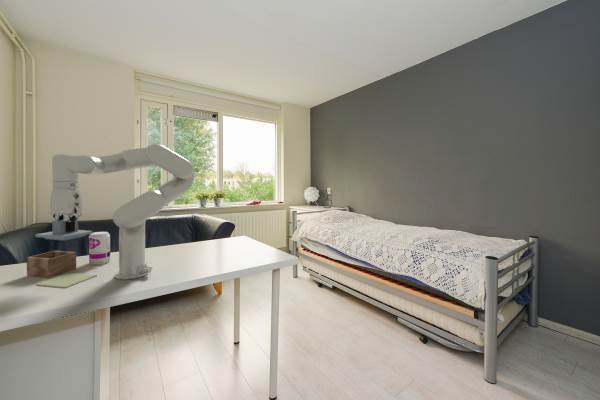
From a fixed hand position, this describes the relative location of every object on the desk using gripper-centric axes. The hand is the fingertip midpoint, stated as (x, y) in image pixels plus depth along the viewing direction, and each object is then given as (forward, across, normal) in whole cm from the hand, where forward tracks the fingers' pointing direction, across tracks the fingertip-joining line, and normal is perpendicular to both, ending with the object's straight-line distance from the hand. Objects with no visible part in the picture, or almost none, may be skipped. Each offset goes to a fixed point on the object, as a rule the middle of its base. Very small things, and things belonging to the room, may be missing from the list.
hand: (65, 230), depth 102 cm
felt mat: (+21, -1, 0) cm, 21 cm away
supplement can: (+21, +7, -22) cm, 31 cm away
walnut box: (+21, +14, -6) cm, 26 cm away
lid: (+3, 0, 0) cm, 3 cm away
